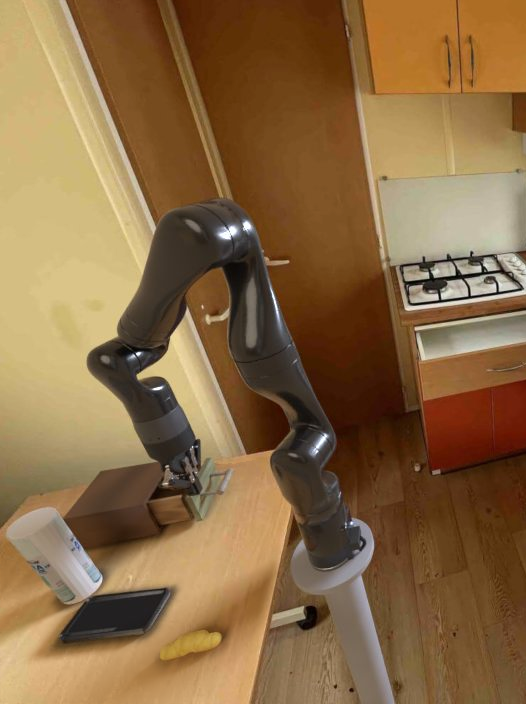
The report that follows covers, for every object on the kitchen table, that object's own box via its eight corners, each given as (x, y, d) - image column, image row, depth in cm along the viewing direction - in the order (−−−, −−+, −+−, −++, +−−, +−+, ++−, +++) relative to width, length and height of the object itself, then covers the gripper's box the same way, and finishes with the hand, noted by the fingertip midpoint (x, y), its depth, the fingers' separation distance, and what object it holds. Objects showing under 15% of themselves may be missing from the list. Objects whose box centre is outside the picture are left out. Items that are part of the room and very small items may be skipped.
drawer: (242, 475, 109) (233, 453, 106) (226, 515, 99) (215, 492, 95) (160, 490, 105) (148, 467, 102) (134, 533, 95) (120, 509, 91)
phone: (88, 596, 82) (171, 587, 84) (91, 599, 83) (173, 590, 84) (54, 641, 75) (144, 630, 77) (57, 644, 76) (147, 634, 77)
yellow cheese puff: (226, 627, 78) (220, 622, 76) (221, 648, 76) (215, 643, 74) (168, 642, 76) (160, 637, 74) (161, 663, 74) (153, 659, 72)
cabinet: (184, 487, 107) (171, 459, 103) (159, 533, 96) (143, 504, 91) (117, 499, 104) (100, 470, 100) (83, 548, 92) (61, 519, 88)
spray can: (53, 595, 83) (-2, 529, 74) (94, 567, 89) (47, 501, 80) (69, 611, 81) (13, 544, 72) (110, 581, 86) (63, 515, 77)
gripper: (170, 449, 75) (203, 515, 83) (200, 404, 87) (227, 466, 94) (121, 457, 74) (159, 523, 81) (159, 410, 85) (189, 472, 93)
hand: (196, 492), depth 88 cm, fingers closed
